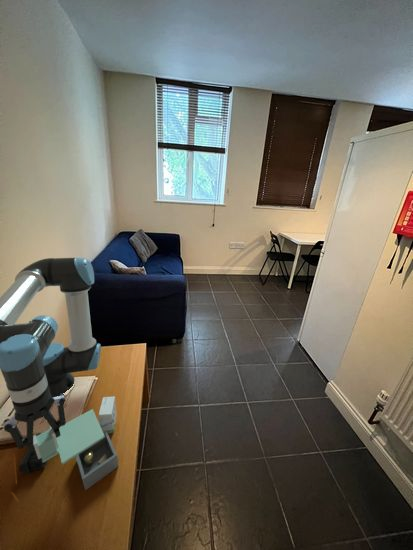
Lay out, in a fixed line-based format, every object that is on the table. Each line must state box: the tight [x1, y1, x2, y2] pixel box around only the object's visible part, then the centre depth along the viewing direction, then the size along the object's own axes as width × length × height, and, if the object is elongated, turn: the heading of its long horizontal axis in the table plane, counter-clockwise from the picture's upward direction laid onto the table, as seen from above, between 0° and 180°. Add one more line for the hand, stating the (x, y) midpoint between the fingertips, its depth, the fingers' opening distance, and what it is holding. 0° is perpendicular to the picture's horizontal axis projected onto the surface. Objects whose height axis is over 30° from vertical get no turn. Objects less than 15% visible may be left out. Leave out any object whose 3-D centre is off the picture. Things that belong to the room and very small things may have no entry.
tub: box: [75, 431, 119, 491], centre depth 80 cm, size 11×11×7 cm
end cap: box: [18, 432, 49, 474], centre depth 81 cm, size 10×7×7 cm
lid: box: [36, 408, 105, 465], centre depth 69 cm, size 12×16×8 cm
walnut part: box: [98, 454, 110, 465], centre depth 80 cm, size 3×3×3 cm
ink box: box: [98, 395, 118, 435], centre depth 92 cm, size 8×5×12 cm, turn 12°
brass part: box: [84, 451, 94, 467], centre depth 81 cm, size 3×3×4 cm
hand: (47, 449), depth 66 cm, fingers closed on lid, 3 cm apart
